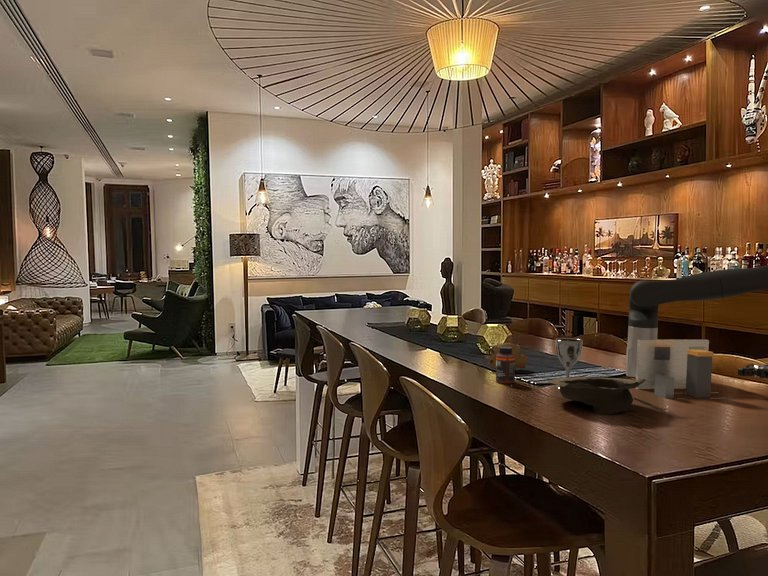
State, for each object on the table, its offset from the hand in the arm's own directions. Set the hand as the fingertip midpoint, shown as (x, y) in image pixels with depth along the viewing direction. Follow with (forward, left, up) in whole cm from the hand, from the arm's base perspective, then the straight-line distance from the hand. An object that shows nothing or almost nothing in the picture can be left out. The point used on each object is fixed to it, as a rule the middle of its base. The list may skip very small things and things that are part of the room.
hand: (739, 371), depth 170 cm
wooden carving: (-69, +16, -8) cm, 71 cm away
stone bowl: (-41, -26, -8) cm, 49 cm away
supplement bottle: (-67, -5, -8) cm, 67 cm away
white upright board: (-14, -4, -8) cm, 17 cm away
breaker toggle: (-12, -6, -7) cm, 15 cm away
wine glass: (-48, -5, -8) cm, 49 cm away
